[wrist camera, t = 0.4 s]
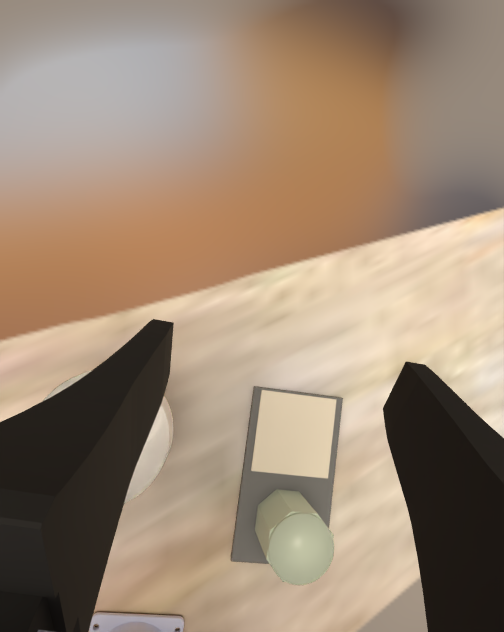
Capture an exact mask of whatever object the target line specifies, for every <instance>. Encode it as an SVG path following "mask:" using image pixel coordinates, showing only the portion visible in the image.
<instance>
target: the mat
mask: <svg viewBox="0 0 504 632" xmlns="http://www.w3.org/2000/svg"><path fill="white" fill-rule="evenodd" d="M342 400H343V398H339V397H331V396H324V395H316V394H308V393H301V392H293V391H285V390H278V389H270V388H262V387H255V386H254V390H253V398H252V405H251V413H250V420H249V427H248V435H247V442H246V450H245V457H244V465H243V472H242V480H241V487H240V494H239V502H238V509H237V517H236V524H235V532H234V539H233V546H232V554H231V561H234V562H249V563H264V564H269V562H268V561H267V560H266V557H265V555H264V552H263V549H262V547H261V544H260V542H259V539H258V537H257V534H256V532H255V524H256V517H257V509H258V505H259V504H260V503H261V502H262V501H263V500H265V499H266V498H267V497H268V496H269V495H270V494H272V493H273V492H274V491H275V490H277V489H278V490H289V491H299V492H300V493H301V495H302V496H303V497H304V498H305V499H306V501H307V502H308V503H309V504H310V505H311V506H312V508H313V509H314V510H315V511H316V512H317V514H318V515H319V516H320V518H321V519H322V520H323V522H324V523H325V524H326V526H327V527H328V528H329V521H330V512H331V503H332V493H333V484H334V475H335V465H336V456H337V447H338V437H339V428H340V419H341V409H342Z"/></svg>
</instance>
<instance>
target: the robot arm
mask: <svg viewBox="0 0 504 632" xmlns="http://www.w3.org/2000/svg"><path fill="white" fill-rule="evenodd" d="M172 336H173V322H167V321H161V320H155V319H153V320H151V321H150V322H149V323H148V324H147V325H146V326H145V327H144V328H143V329H141V330H140V331H139V332H138V333H137V334H136V335H135V336H134V337H133V338H132V339H131V340H129V341H128V342H127V343H126V344H125V345H124V346H123V347H121V348H120V349H119V350H118V351H117V352H115V353H114V354H113V355H112V356H111V357H109V358H108V359H107V360H106V361H104V362H103V363H102V364H100V365H99V366H98V367H96V368H95V369H94V370H92V371H91V372H89V373H88V374H87V375H85V376H84V377H82V378H81V379H79V380H78V381H76V382H75V383H73V384H72V385H70V386H69V387H67V388H65V389H64V390H62V391H61V392H59V393H57V394H56V395H54V396H52V397H50V398H48V399H47V400H45V401H43V402H41V403H39V404H37V405H35V406H33V407H31V408H29V409H27V410H25V411H24V412H22V413H19V414H17V415H15V416H13V417H11V418H9V419H6V420H4V421H2V422H0V632H88V631H89V632H183V628H184V619H183V617H181V616H170V615H148V614H127V613H105V612H97V613H95V614H94V615H93V613H94V609H95V605H96V601H97V597H98V594H99V590H100V586H101V582H102V579H103V575H104V572H105V568H106V564H107V561H108V557H109V553H110V550H111V546H112V543H113V539H114V536H115V532H116V529H117V525H118V522H119V518H120V515H121V512H122V508H123V505H124V501H125V498H126V495H127V491H128V488H129V485H130V481H131V479H132V476H133V473H134V470H135V467H136V465H137V462H138V460H139V458H140V455H141V453H142V450H143V448H144V445H145V443H146V440H147V438H148V436H149V433H150V431H151V428H152V426H153V423H154V421H155V418H156V416H157V413H158V411H159V408H160V406H161V403H162V400H163V396H164V393H165V389H166V386H167V382H168V378H169V374H170V362H171V349H172ZM383 412H384V420H385V427H386V434H387V439H388V443H389V447H390V450H391V453H392V457H393V460H394V464H395V467H396V471H397V474H398V477H399V481H400V484H401V487H402V491H403V494H404V497H405V501H406V504H407V508H408V512H409V516H410V520H411V524H412V529H413V535H414V540H415V545H416V551H417V556H418V563H419V569H420V575H421V582H422V588H423V595H424V603H425V611H426V619H427V627H428V632H504V438H503V437H502V436H500V435H499V434H498V433H497V432H496V431H495V430H494V429H492V428H491V427H490V426H489V425H488V424H487V423H486V422H485V421H484V420H483V419H482V418H480V417H479V416H478V415H477V414H476V413H475V412H474V411H473V410H472V409H471V408H470V407H469V406H468V405H467V404H466V403H465V402H464V401H463V400H462V399H461V398H460V397H459V396H458V395H457V394H456V393H455V392H454V391H453V390H452V389H451V388H450V387H448V386H447V385H446V384H445V383H444V382H443V381H442V380H441V379H440V378H439V377H438V376H437V375H436V374H435V373H434V372H433V371H432V370H431V369H429V368H428V367H427V366H426V365H423V364H417V363H411V362H405V365H404V367H403V369H402V371H401V373H400V375H399V377H398V379H397V381H396V383H395V385H394V387H393V389H392V391H391V393H390V395H389V397H388V399H387V401H386V403H385V405H384V407H383ZM94 624H98V625H99V627H94ZM177 627H179V628H180V630H179V631H176V630H175V628H177ZM89 628H90V629H89Z"/></svg>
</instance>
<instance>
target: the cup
mask: <svg viewBox="0 0 504 632" xmlns="http://www.w3.org/2000/svg"><path fill="white" fill-rule="evenodd" d="M91 371H92V370H90V371H87V372H85V373H82V374H80V375H78V376H76V377H73V378H71V379H69V380H67V381H65V382H64V383H62V384H61V385H59V386H58V387H57V388H55V389H54V390H53V391H52V392H51V393H50V394H49V395H48V396H47V397H46V398H45V399H44V400H43V401H45V400H47V399H48V398H50V397H52V396H54V395H56V394H57V393H59V392H61V391H62V390H64V389H65V388H67V387H69V386H70V385H72V384H73V383H75V382H76V381H78V380H79V379H81V378H82V377H84V376H85V375H87V374H88V373H89V372H91ZM173 430H174V426H173V417H172V412H171V409H170V406H169V404H168V401H167V400H166V398H165V396H163V400H162V403H161V406H160V408H159V411H158V413H157V416H156V418H155V421H154V423H153V426H152V428H151V431H150V433H149V436H148V438H147V440H146V443H145V445H144V448H143V450H142V453H141V455H140V458H139V460H138V462H137V465H136V467H135V470H134V473H133V476H132V479H131V481H130V485H129V488H128V491H127V495H126V498H125V501H124V504H125V503H127V502H129V501H131V500H132V499H134V498H136V497H137V496H138V495H140V494H141V493H142V492H143V491H144V490H146V489H147V488H148V487H149V486H150V484H151V483H152V482H153V481H154V480H155V478H156V477H157V475H158V474H159V472H160V470H161V468H162V466H163V464H164V462H165V460H166V458H167V456H168V454H169V451H170V448H171V445H172V440H173Z"/></svg>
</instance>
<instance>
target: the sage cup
mask: <svg viewBox="0 0 504 632" xmlns="http://www.w3.org/2000/svg"><path fill="white" fill-rule="evenodd" d="M255 532H256V534H257V537H258V539H259V542H260V544H261V547H262V549H263V552H264V555H265V557H266V560H267V561H268V562H269V564H270V565H271V566H272V568H273V570H274V571H275V573H276V574H277V575H278V576H279V577H280V578H281V580H282V581H283V582H287V583H289V584H293V585H306V584H310V583H312V582H314V581H316V580H318V579H319V578H320V577H321V576H322V575H323V574H324V573H325V572H326V571H327V569H328V568H329V566H330V564H331V561H332V558H333V554H334V542H333V536H334V535H333V534H332V532H331V531H330V530H329V528H328V527H327V526H326V524H325V523H324V522H323V520H322V519H321V518H320V516H319V515H318V514H317V512H316V511H315V510H314V509H313V508H312V506H311V505H310V504H309V503H308V502H307V501H306V499H305V498H304V497H303V496H302V495H301V493H300V492H299V491H289V490H278V489H277V490H275V491H274V492H273V493H272V494H270V495H269V496H268V497H267V498H266V499H265V500H263V501H262V502H261V503H260V504H259V505H258V509H257V517H256V524H255Z"/></svg>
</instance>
